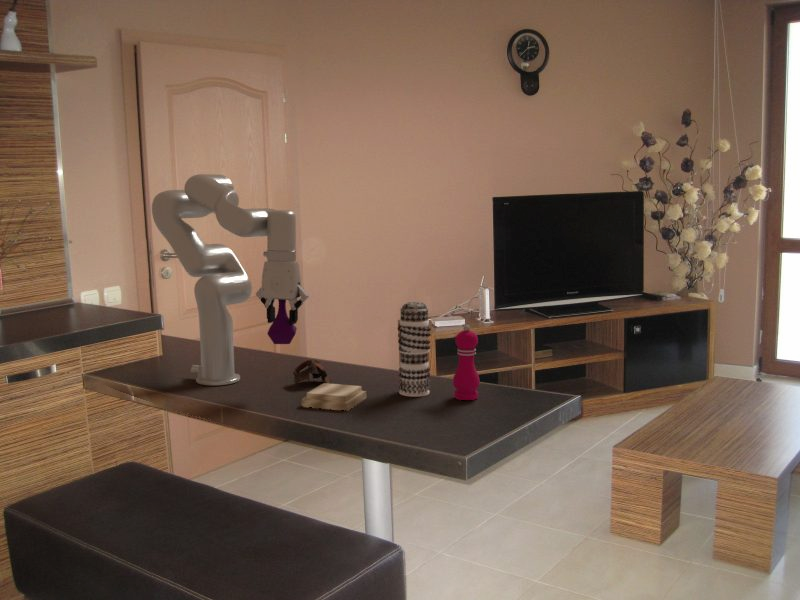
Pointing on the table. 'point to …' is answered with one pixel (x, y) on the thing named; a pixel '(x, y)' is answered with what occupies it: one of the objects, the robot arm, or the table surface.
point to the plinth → (334, 397)
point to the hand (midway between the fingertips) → (282, 322)
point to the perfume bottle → (281, 326)
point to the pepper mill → (466, 366)
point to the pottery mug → (310, 371)
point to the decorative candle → (414, 350)
